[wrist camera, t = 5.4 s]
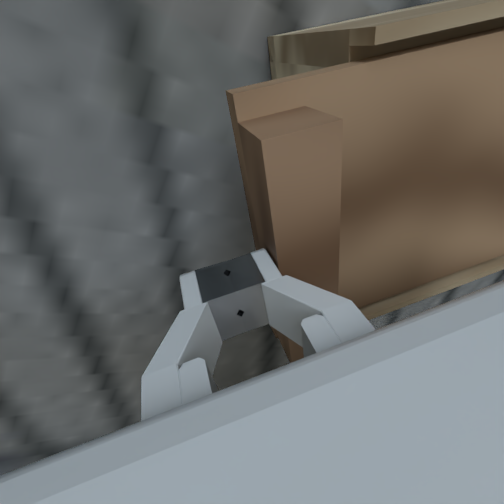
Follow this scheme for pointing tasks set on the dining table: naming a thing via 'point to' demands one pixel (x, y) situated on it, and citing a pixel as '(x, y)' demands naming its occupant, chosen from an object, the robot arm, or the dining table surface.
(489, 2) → the crate
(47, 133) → the dining table surface
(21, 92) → the dining table surface
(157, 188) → the dining table surface
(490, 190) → the lid
